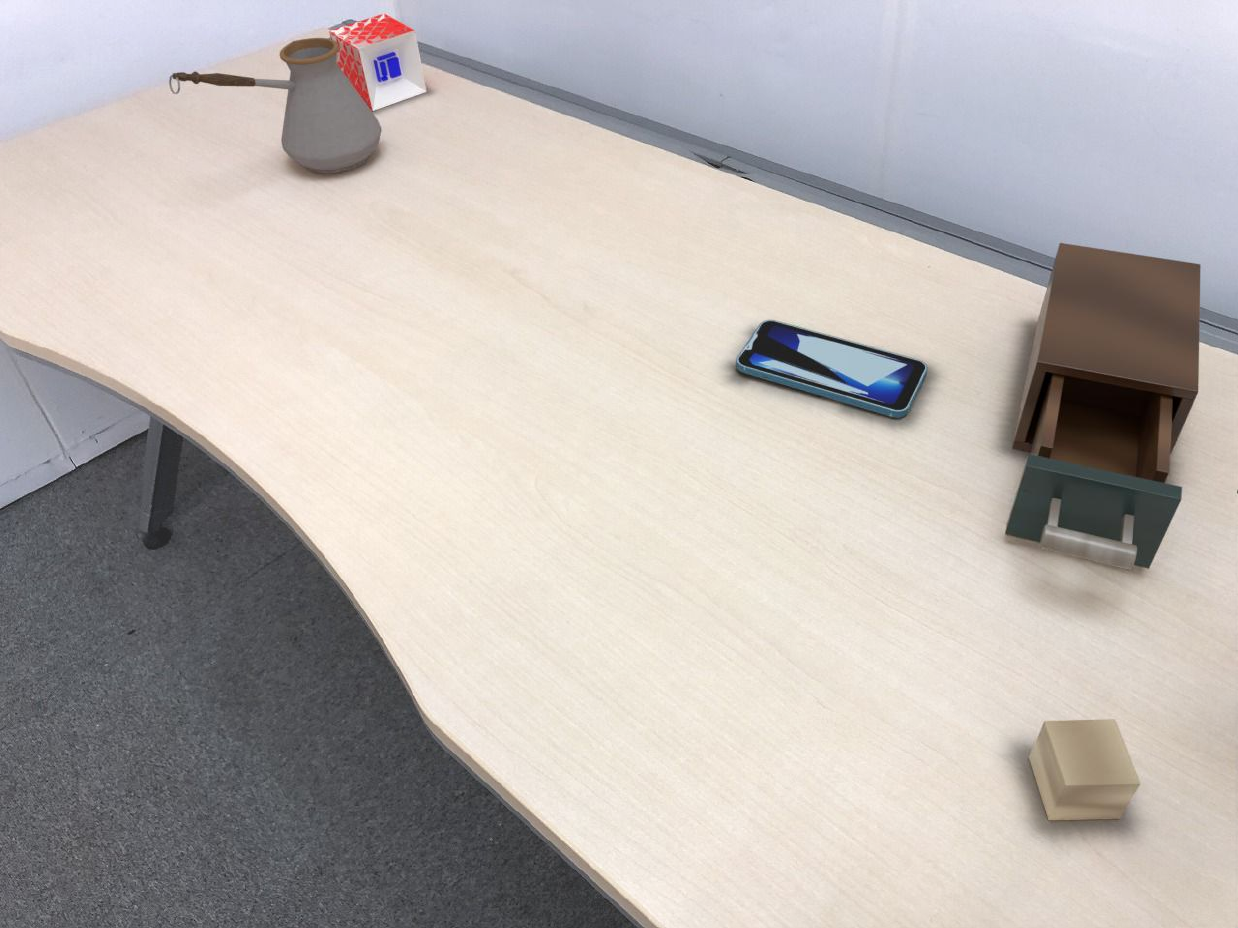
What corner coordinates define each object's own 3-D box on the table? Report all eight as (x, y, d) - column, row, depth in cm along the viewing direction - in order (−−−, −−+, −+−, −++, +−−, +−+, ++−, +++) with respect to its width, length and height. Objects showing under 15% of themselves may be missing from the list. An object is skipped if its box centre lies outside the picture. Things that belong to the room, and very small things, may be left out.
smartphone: (905, 415, 82) (731, 364, 87) (903, 424, 83) (731, 372, 88) (930, 362, 87) (764, 316, 92) (928, 371, 87) (764, 325, 92)
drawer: (1146, 617, 67) (1180, 547, 62) (995, 579, 69) (1017, 510, 65) (1157, 424, 80) (1186, 355, 75) (1030, 399, 82) (1050, 330, 78)
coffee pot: (354, 126, 127) (323, 1, 116) (405, 156, 120) (377, 26, 110) (193, 190, 117) (143, 60, 107) (238, 226, 111) (190, 92, 100)
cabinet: (1159, 480, 76) (1198, 391, 71) (1011, 448, 80) (1036, 361, 74) (1166, 350, 87) (1200, 264, 81) (1036, 327, 91) (1059, 242, 85)
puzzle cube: (396, 74, 137) (384, 13, 132) (426, 92, 133) (415, 30, 127) (343, 92, 134) (328, 31, 129) (372, 111, 129) (357, 49, 124)
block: (1096, 755, 61) (1115, 718, 58) (1120, 819, 58) (1141, 783, 55) (1028, 757, 61) (1043, 720, 58) (1048, 820, 58) (1065, 785, 55)
